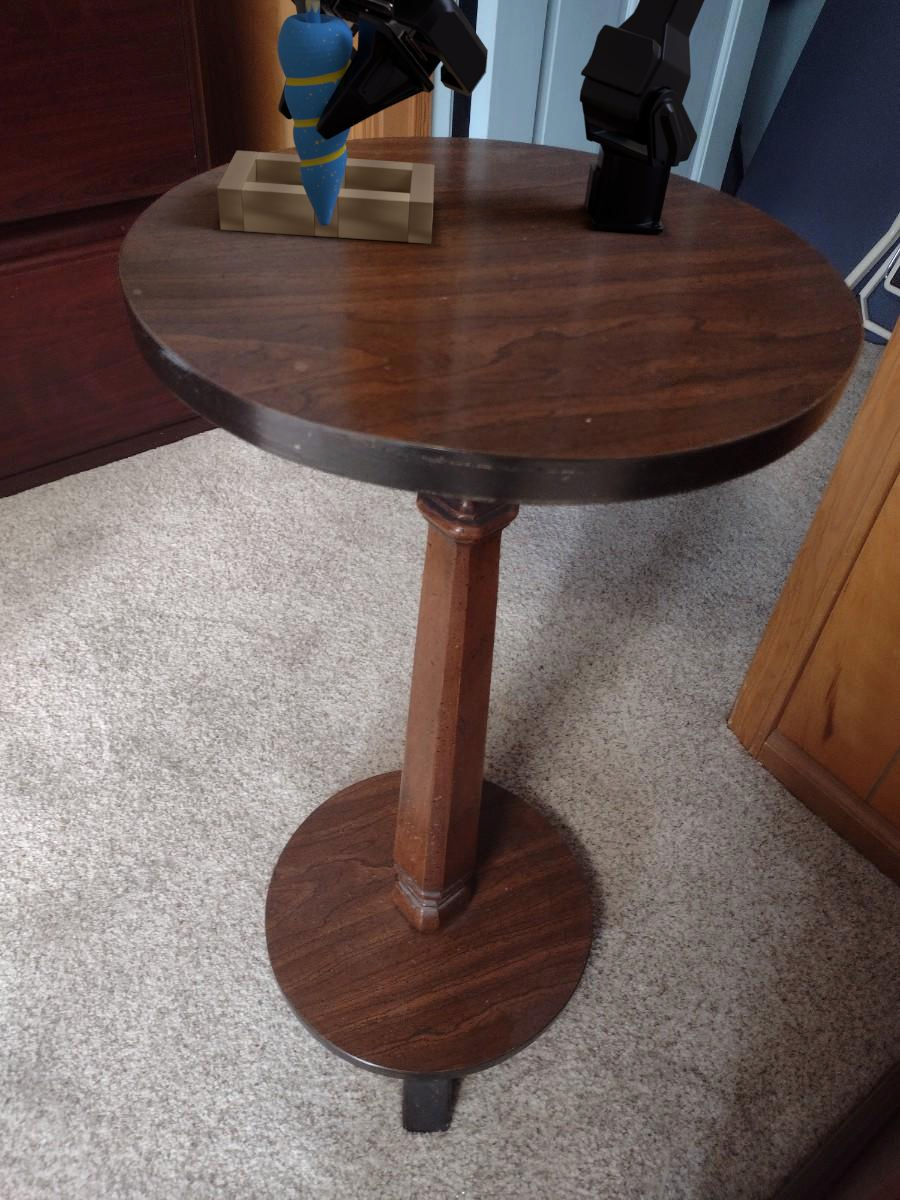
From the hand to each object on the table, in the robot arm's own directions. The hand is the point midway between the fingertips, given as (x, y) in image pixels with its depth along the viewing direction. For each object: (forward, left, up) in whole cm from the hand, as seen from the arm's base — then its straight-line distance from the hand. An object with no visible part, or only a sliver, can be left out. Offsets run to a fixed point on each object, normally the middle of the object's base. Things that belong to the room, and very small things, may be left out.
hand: (301, 124), depth 66 cm
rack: (0, -17, -12) cm, 21 cm away
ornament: (-1, -1, -7) cm, 7 cm away
